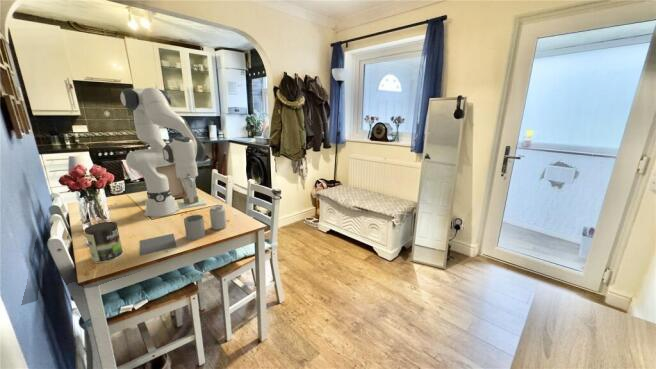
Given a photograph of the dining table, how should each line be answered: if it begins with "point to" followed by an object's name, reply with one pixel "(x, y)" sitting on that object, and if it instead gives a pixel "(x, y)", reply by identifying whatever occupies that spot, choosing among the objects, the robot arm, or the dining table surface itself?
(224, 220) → the can
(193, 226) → the cup
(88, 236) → the coffee can
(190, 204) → the lid
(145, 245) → the mat
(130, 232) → the dining table surface
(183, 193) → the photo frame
